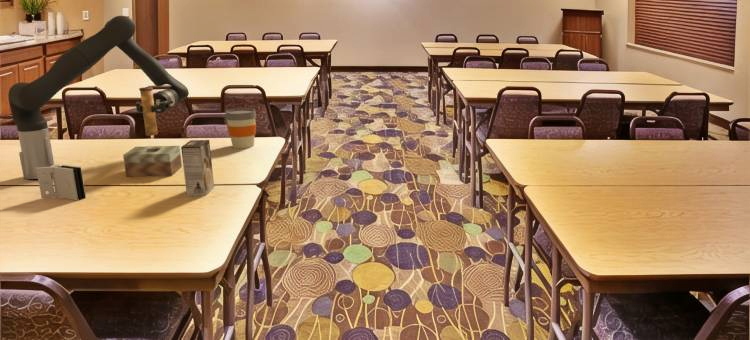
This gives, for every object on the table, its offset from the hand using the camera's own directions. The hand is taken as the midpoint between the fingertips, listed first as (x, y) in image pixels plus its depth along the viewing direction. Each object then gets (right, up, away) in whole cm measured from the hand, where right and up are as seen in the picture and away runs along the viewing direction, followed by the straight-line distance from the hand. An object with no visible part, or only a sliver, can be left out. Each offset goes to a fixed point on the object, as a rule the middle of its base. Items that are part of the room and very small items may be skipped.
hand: (145, 109), depth 203 cm
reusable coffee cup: (+24, -11, +44) cm, 51 cm away
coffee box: (+24, -28, -16) cm, 40 cm away
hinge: (-18, -30, -20) cm, 40 cm away
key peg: (0, -8, +5) cm, 10 cm away
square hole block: (0, -22, +7) cm, 23 cm away
